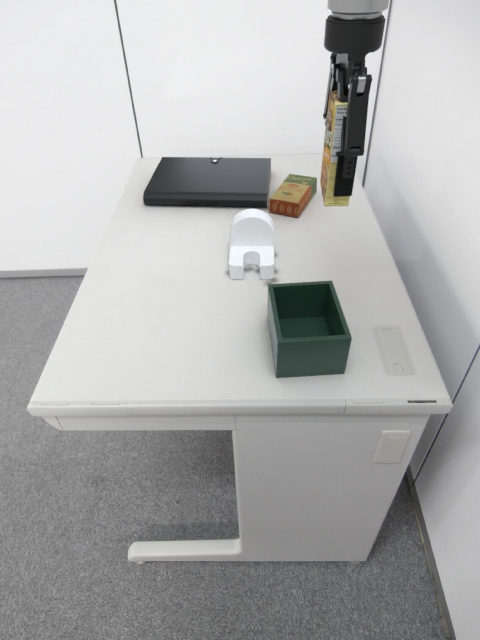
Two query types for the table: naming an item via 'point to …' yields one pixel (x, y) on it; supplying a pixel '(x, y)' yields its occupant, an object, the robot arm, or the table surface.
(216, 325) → the table surface
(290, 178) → the carton
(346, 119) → the robot arm
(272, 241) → the white plastic bracket
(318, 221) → the table surface
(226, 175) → the file folder
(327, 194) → the candy box
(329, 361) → the open storage box
